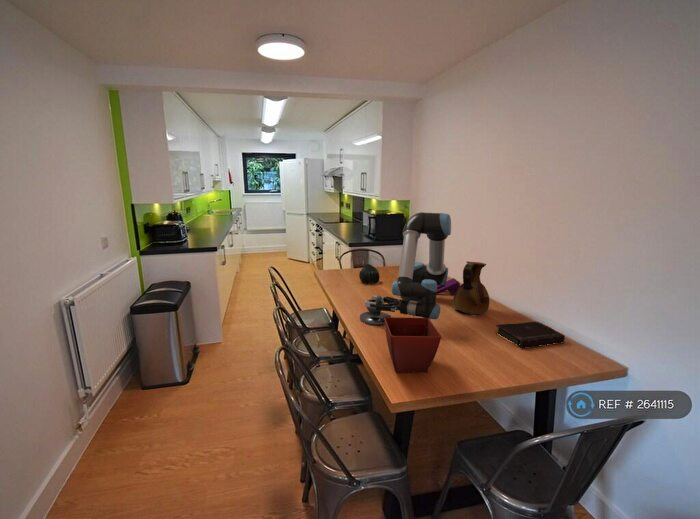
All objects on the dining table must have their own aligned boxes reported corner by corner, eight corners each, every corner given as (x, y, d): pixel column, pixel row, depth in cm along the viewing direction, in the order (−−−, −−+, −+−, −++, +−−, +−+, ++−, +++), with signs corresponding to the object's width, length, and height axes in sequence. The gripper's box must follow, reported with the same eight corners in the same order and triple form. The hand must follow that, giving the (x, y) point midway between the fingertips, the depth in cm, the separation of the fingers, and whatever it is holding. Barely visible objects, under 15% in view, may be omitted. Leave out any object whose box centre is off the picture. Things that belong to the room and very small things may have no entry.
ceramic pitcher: (493, 312, 201) (499, 262, 194) (479, 321, 186) (485, 268, 180) (461, 303, 214) (466, 256, 207) (446, 311, 199) (450, 261, 193)
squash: (380, 279, 244) (379, 261, 251) (359, 280, 244) (359, 261, 252) (379, 288, 256) (378, 270, 264) (359, 288, 257) (359, 270, 264)
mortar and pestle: (363, 312, 188) (363, 291, 186) (378, 310, 191) (379, 289, 189) (371, 319, 178) (372, 297, 175) (387, 317, 181) (388, 295, 179)
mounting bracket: (438, 303, 231) (463, 292, 230) (434, 293, 229) (458, 281, 228) (434, 299, 240) (457, 288, 239) (430, 288, 238) (453, 278, 238)
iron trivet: (379, 311, 197) (379, 309, 197) (397, 322, 183) (397, 319, 182) (353, 316, 189) (354, 314, 188) (371, 328, 174) (371, 325, 174)
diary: (564, 344, 162) (566, 335, 161) (521, 351, 155) (522, 340, 154) (533, 328, 179) (534, 319, 178) (493, 333, 172) (494, 324, 171)
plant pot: (426, 353, 149) (428, 317, 146) (438, 377, 131) (442, 336, 127) (382, 353, 149) (384, 316, 145) (388, 377, 130) (390, 336, 126)
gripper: (402, 321, 167) (360, 314, 176) (413, 307, 187) (375, 301, 196) (403, 307, 166) (360, 300, 175) (414, 294, 185) (376, 288, 195)
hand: (368, 300), depth 185 cm, fingers closed on mortar and pestle, 10 cm apart
